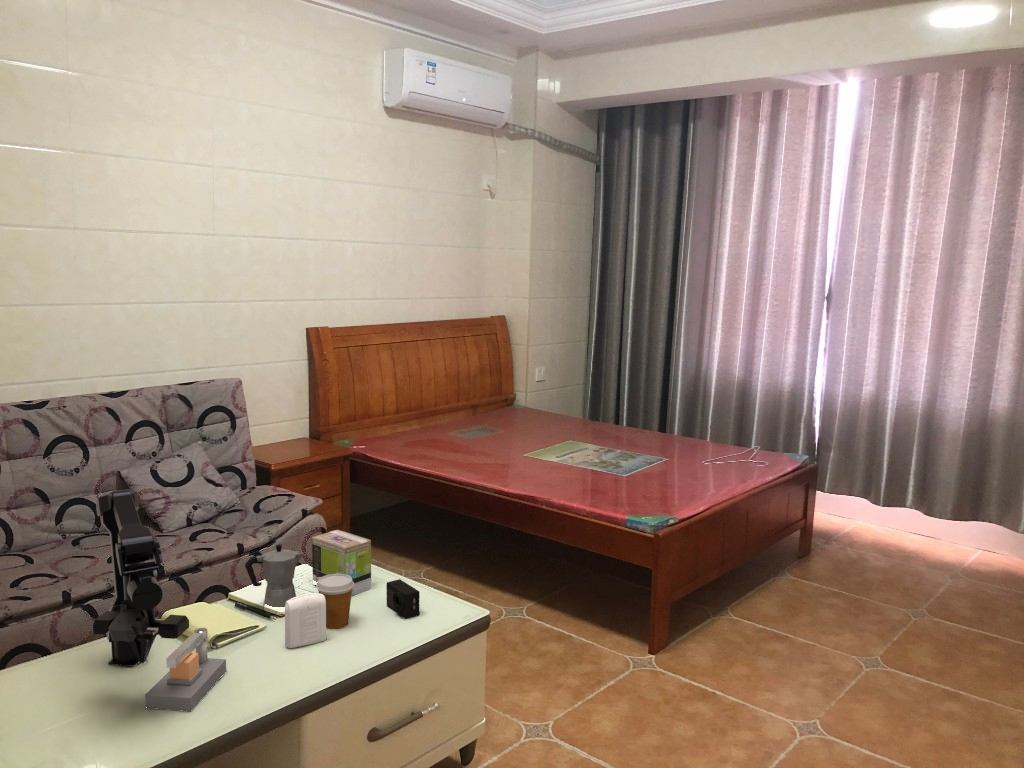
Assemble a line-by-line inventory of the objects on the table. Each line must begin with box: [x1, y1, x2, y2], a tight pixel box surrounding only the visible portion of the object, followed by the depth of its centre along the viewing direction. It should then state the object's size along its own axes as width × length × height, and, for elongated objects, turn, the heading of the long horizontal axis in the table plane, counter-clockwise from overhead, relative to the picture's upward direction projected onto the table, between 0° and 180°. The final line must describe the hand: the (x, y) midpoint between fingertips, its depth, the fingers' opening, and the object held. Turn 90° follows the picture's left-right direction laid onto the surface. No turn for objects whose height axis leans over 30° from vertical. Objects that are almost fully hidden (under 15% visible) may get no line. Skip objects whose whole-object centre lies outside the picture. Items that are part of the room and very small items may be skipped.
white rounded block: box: [284, 592, 327, 649], centre depth 206 cm, size 10×4×12 cm, turn 123°
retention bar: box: [166, 627, 208, 669], centre depth 183 cm, size 3×15×2 cm, turn 174°
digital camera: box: [386, 578, 420, 620], centre depth 225 cm, size 10×5×7 cm, turn 38°
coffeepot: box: [244, 544, 305, 607], centre depth 224 cm, size 15×9×18 cm, turn 117°
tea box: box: [311, 529, 372, 597], centre depth 240 cm, size 15×10×15 cm
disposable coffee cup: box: [315, 574, 354, 630], centre depth 216 cm, size 10×10×12 cm
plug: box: [167, 652, 203, 685], centre depth 182 cm, size 5×5×8 cm
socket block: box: [144, 638, 227, 712], centre depth 183 cm, size 10×17×8 cm, turn 174°
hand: (143, 662), depth 178 cm, fingers closed
